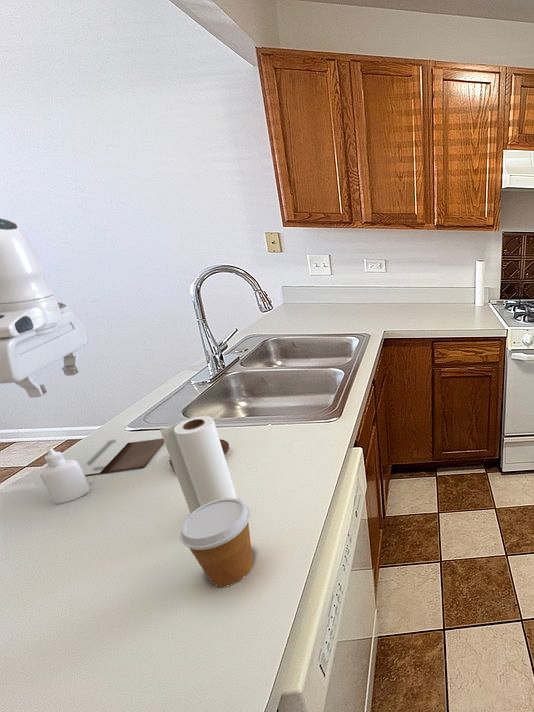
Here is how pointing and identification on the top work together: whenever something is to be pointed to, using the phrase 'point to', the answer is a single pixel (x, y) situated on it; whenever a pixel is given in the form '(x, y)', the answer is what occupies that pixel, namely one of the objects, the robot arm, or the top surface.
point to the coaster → (133, 456)
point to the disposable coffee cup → (220, 540)
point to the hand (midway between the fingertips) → (56, 384)
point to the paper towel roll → (198, 461)
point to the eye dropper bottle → (63, 478)
